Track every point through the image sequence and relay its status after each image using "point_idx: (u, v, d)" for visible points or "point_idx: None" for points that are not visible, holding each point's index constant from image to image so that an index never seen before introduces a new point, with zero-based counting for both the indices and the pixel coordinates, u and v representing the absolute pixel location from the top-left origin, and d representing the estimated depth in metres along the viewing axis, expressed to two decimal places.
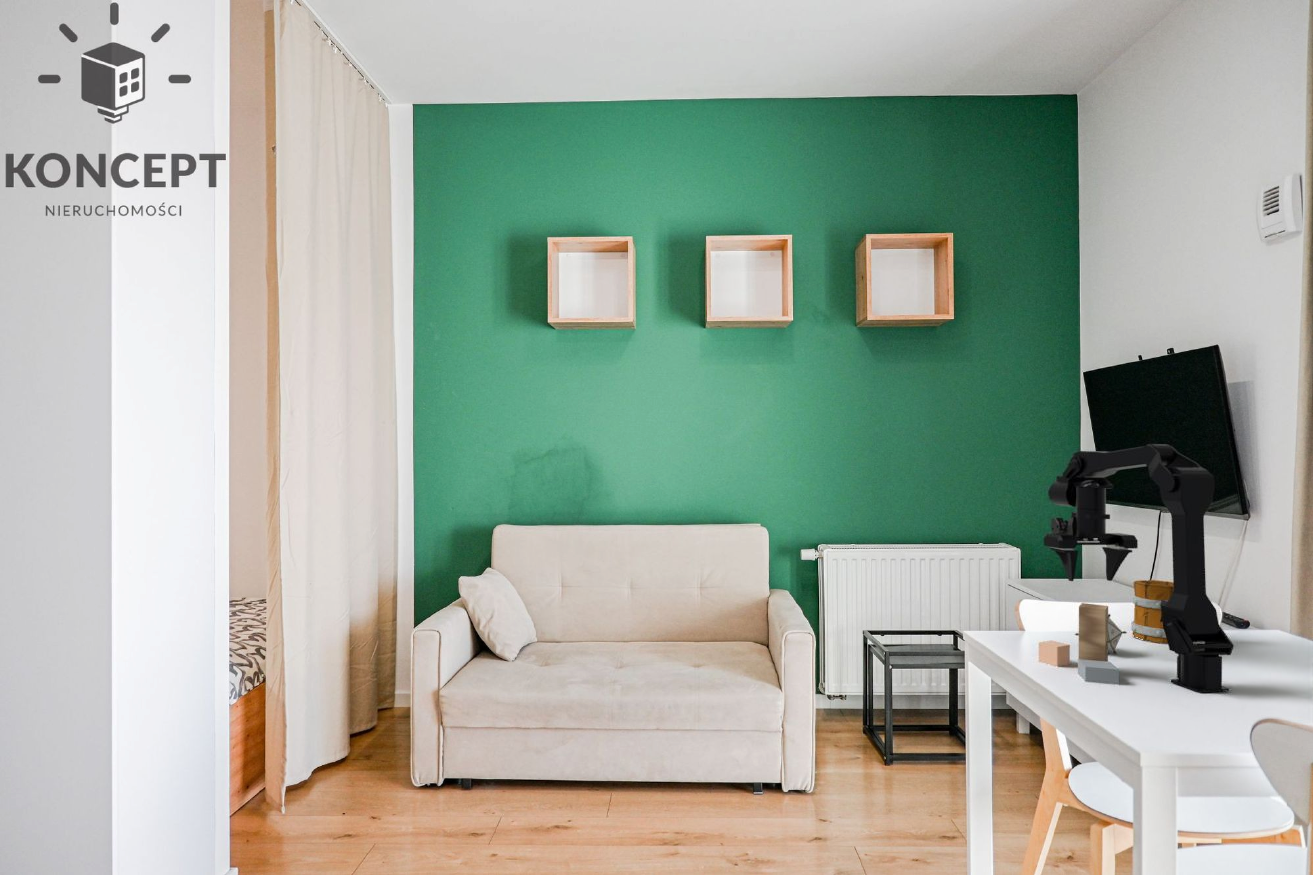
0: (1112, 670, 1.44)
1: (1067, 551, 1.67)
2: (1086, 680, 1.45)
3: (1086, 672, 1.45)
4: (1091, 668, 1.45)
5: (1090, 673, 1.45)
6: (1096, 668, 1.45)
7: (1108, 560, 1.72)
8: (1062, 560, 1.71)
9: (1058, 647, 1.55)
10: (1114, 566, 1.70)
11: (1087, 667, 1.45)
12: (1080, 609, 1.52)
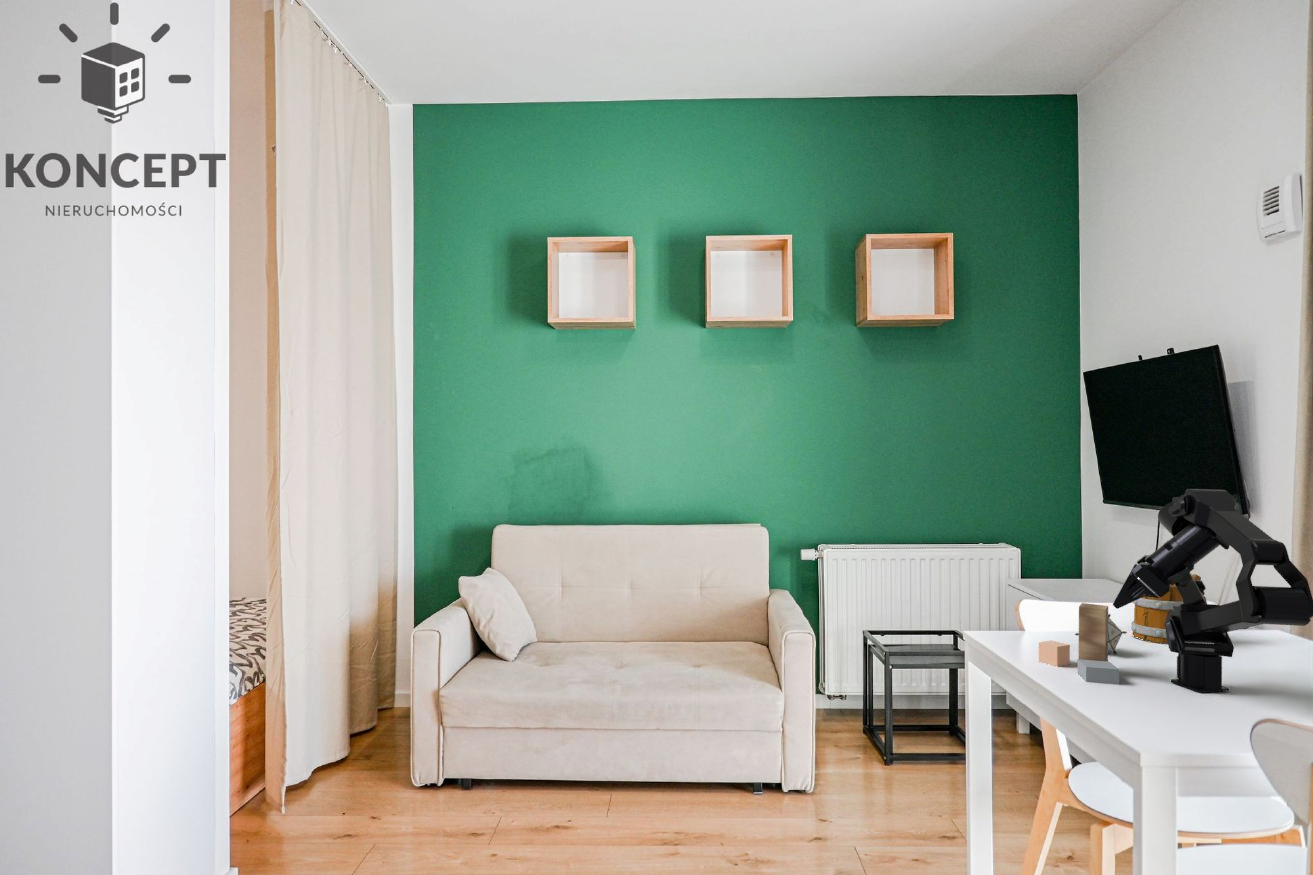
0: (1113, 670, 1.44)
1: None
2: (1087, 680, 1.45)
3: (1087, 672, 1.45)
4: (1092, 668, 1.45)
5: (1091, 673, 1.45)
6: (1097, 668, 1.45)
7: None
8: None
9: (1058, 647, 1.55)
10: None
11: (1088, 667, 1.45)
12: (1080, 609, 1.52)
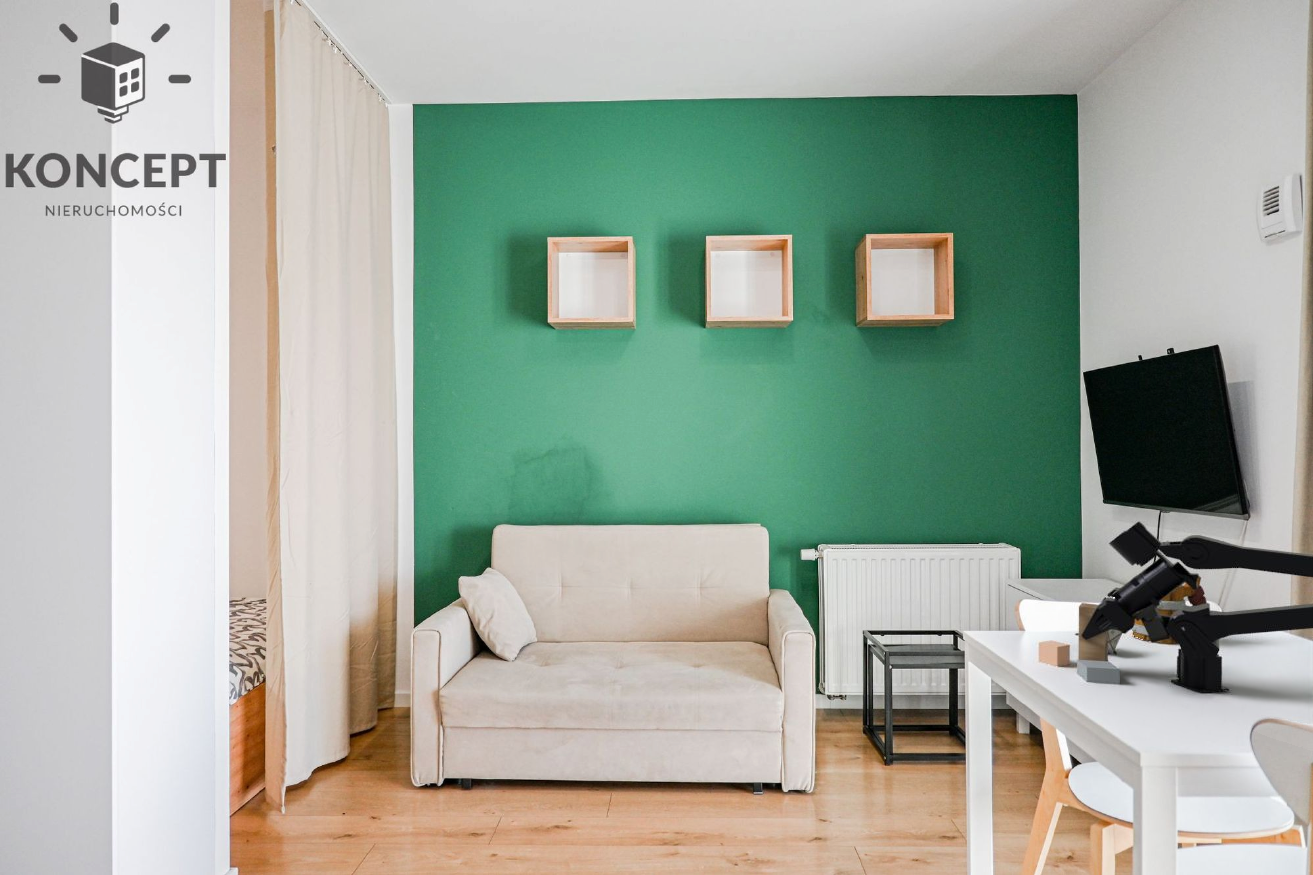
0: (1113, 670, 1.44)
1: None
2: (1088, 681, 1.45)
3: (1087, 673, 1.45)
4: (1092, 668, 1.45)
5: (1091, 673, 1.45)
6: (1097, 668, 1.45)
7: None
8: None
9: (1058, 647, 1.55)
10: None
11: (1088, 668, 1.45)
12: (1080, 609, 1.52)
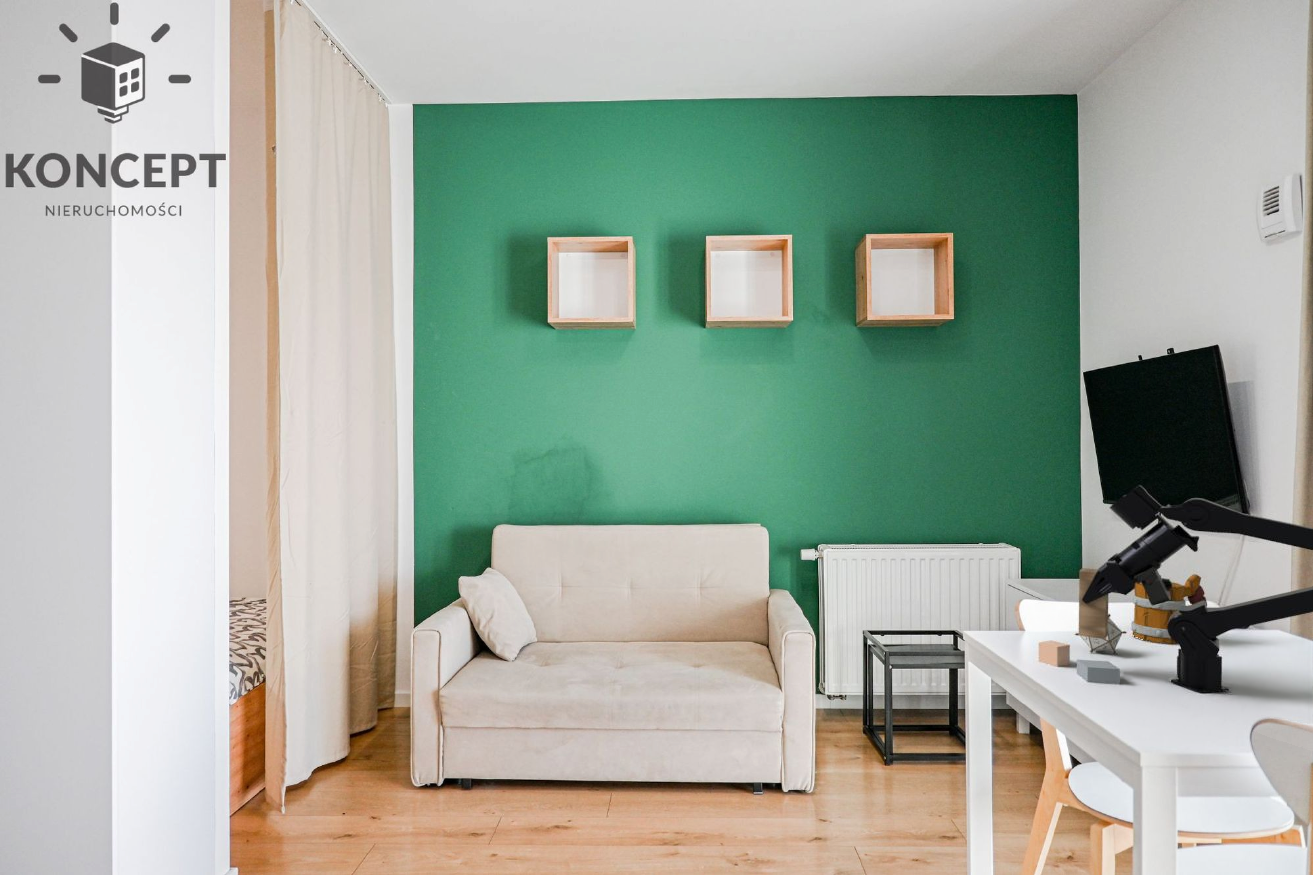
0: (1114, 670, 1.44)
1: None
2: (1088, 681, 1.45)
3: (1088, 672, 1.45)
4: (1093, 668, 1.45)
5: (1092, 673, 1.45)
6: (1098, 668, 1.45)
7: None
8: None
9: (1058, 647, 1.55)
10: None
11: (1089, 667, 1.45)
12: (1081, 573, 1.52)
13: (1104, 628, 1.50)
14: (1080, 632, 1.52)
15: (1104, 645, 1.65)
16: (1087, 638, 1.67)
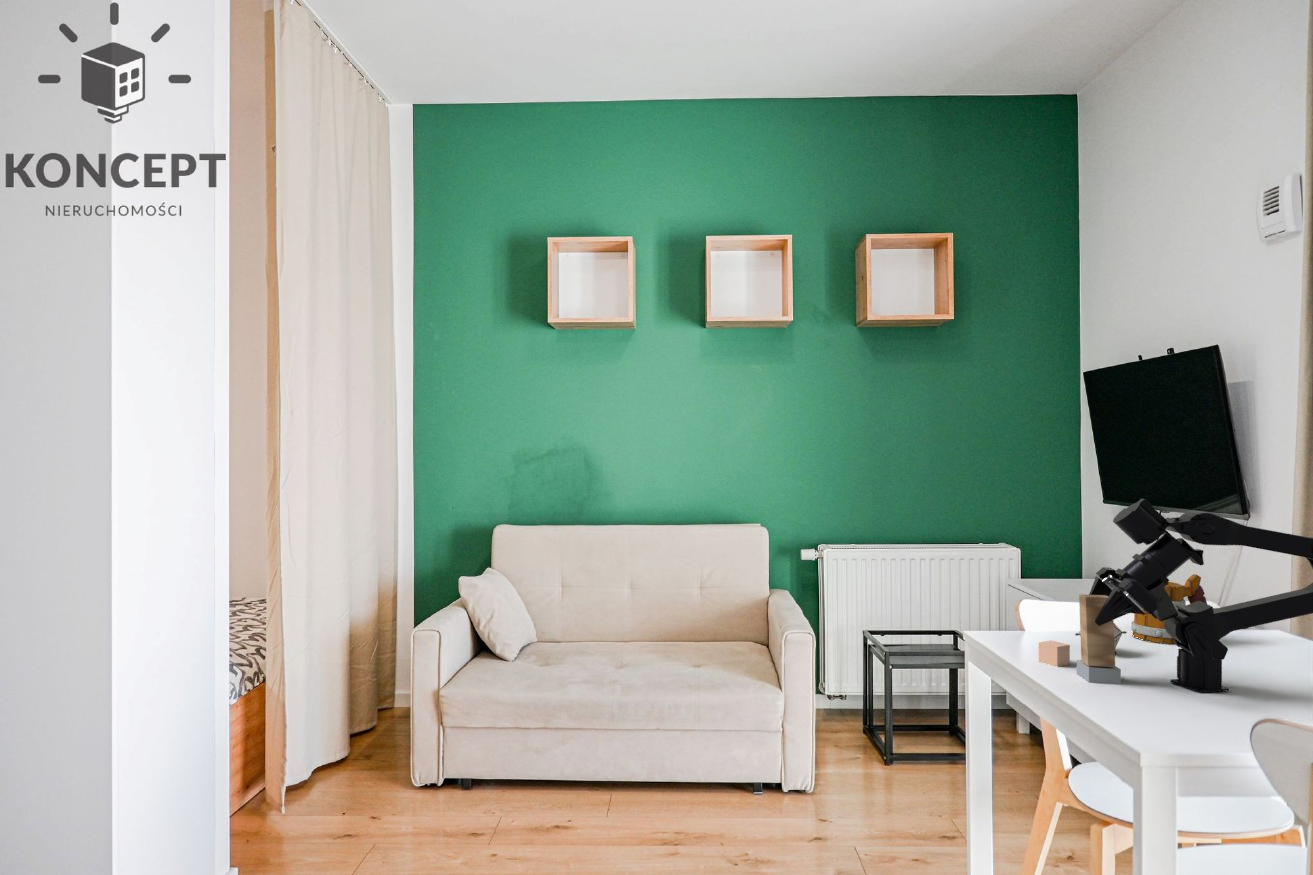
0: (1114, 670, 1.44)
1: (1095, 577, 1.54)
2: (1089, 681, 1.45)
3: (1089, 673, 1.45)
4: (1094, 669, 1.45)
5: (1093, 674, 1.45)
6: (1099, 669, 1.44)
7: None
8: None
9: (1058, 647, 1.55)
10: None
11: (1090, 668, 1.45)
12: (1087, 600, 1.46)
13: (1113, 655, 1.44)
14: (1089, 662, 1.45)
15: None
16: None
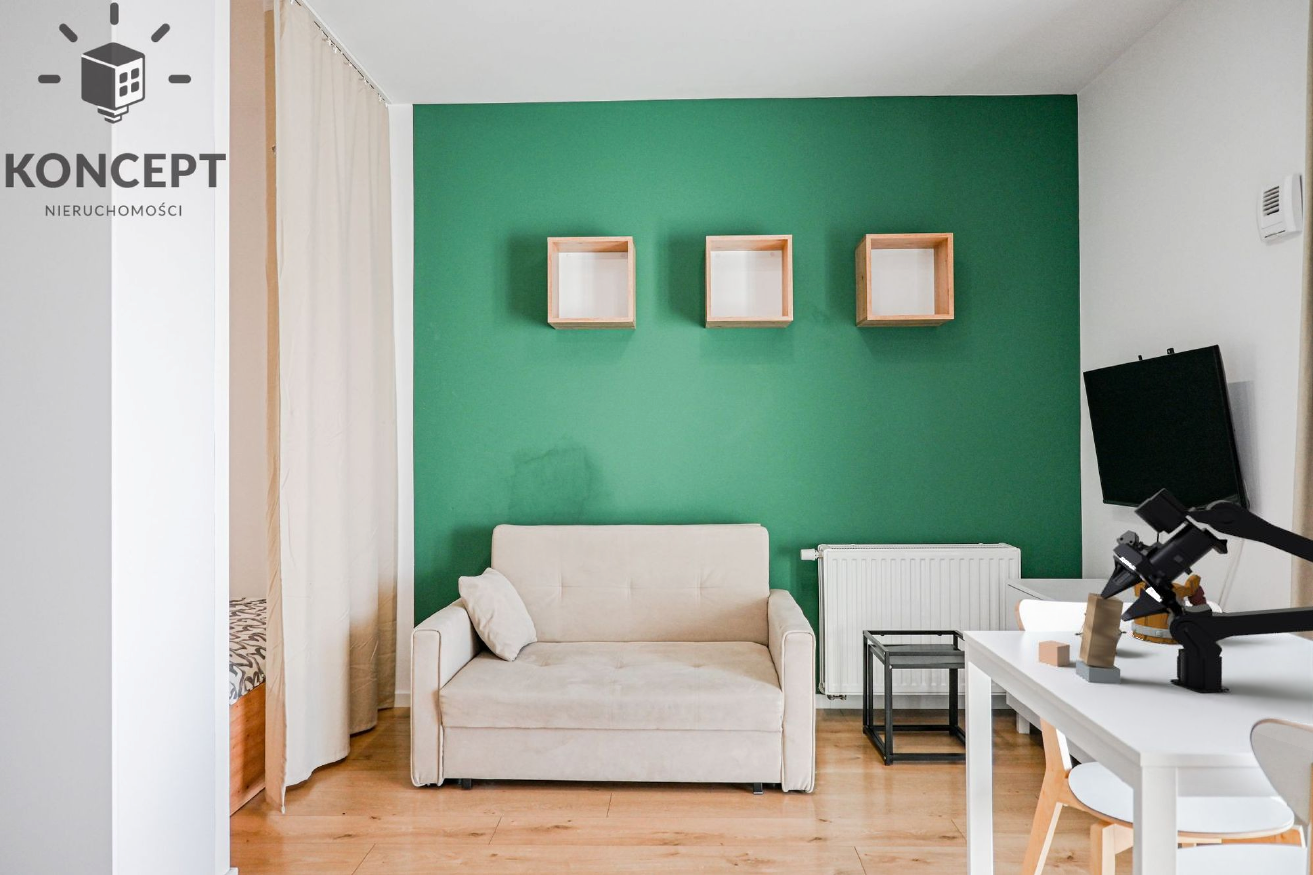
0: (1114, 670, 1.44)
1: (1137, 574, 1.40)
2: (1090, 681, 1.45)
3: (1089, 673, 1.45)
4: (1094, 669, 1.45)
5: (1093, 674, 1.45)
6: (1099, 669, 1.45)
7: (1138, 603, 1.49)
8: (1114, 575, 1.44)
9: (1058, 647, 1.55)
10: (1142, 613, 1.47)
11: (1090, 668, 1.45)
12: (1097, 601, 1.45)
13: (1113, 658, 1.44)
14: (1089, 661, 1.45)
15: None
16: None
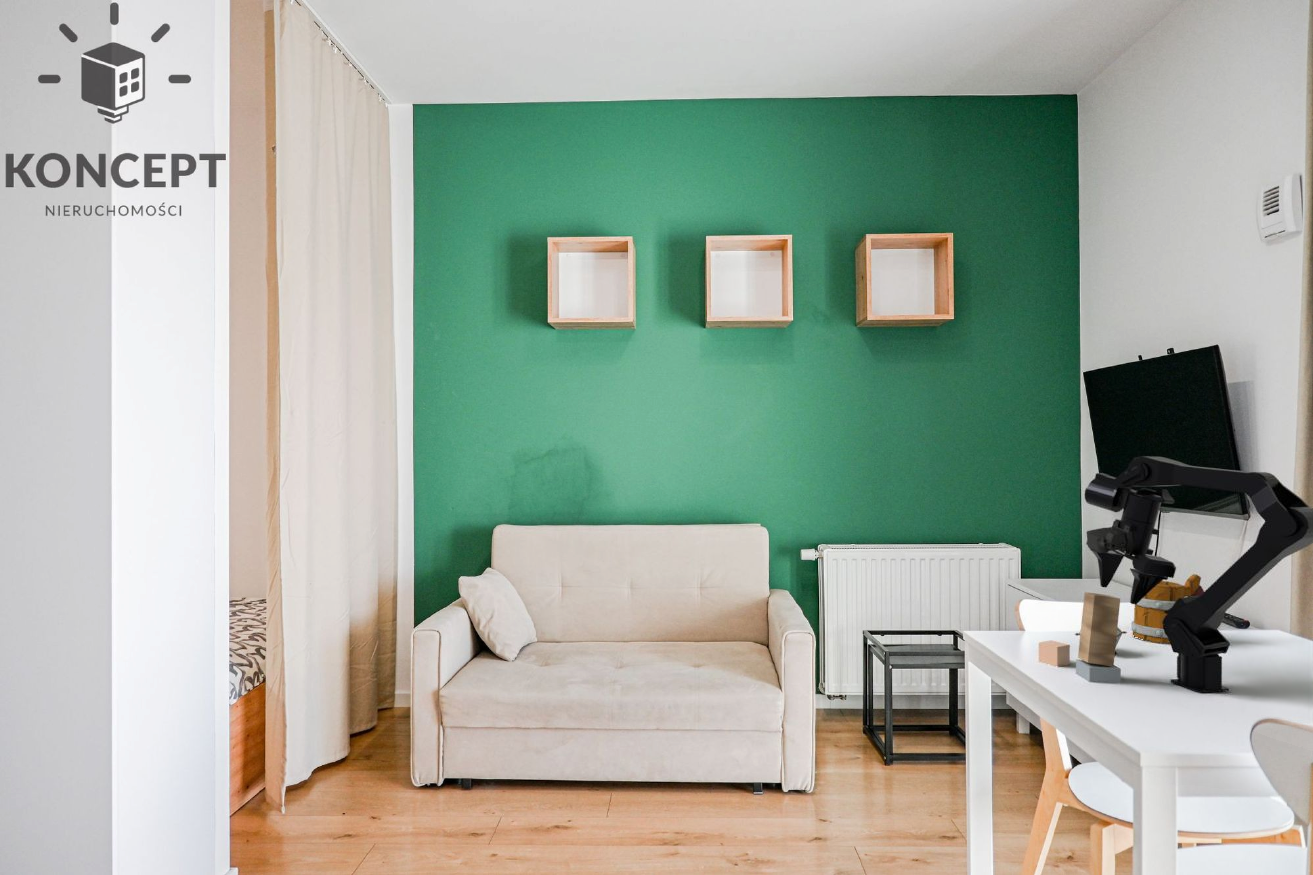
0: (1115, 670, 1.45)
1: None
2: (1090, 681, 1.45)
3: (1090, 673, 1.45)
4: (1095, 668, 1.45)
5: (1094, 674, 1.45)
6: (1099, 668, 1.45)
7: (1105, 566, 1.59)
8: (1139, 584, 1.49)
9: (1058, 647, 1.55)
10: (1114, 572, 1.60)
11: (1091, 668, 1.45)
12: (1095, 598, 1.46)
13: (1113, 655, 1.45)
14: (1090, 659, 1.46)
15: None
16: None
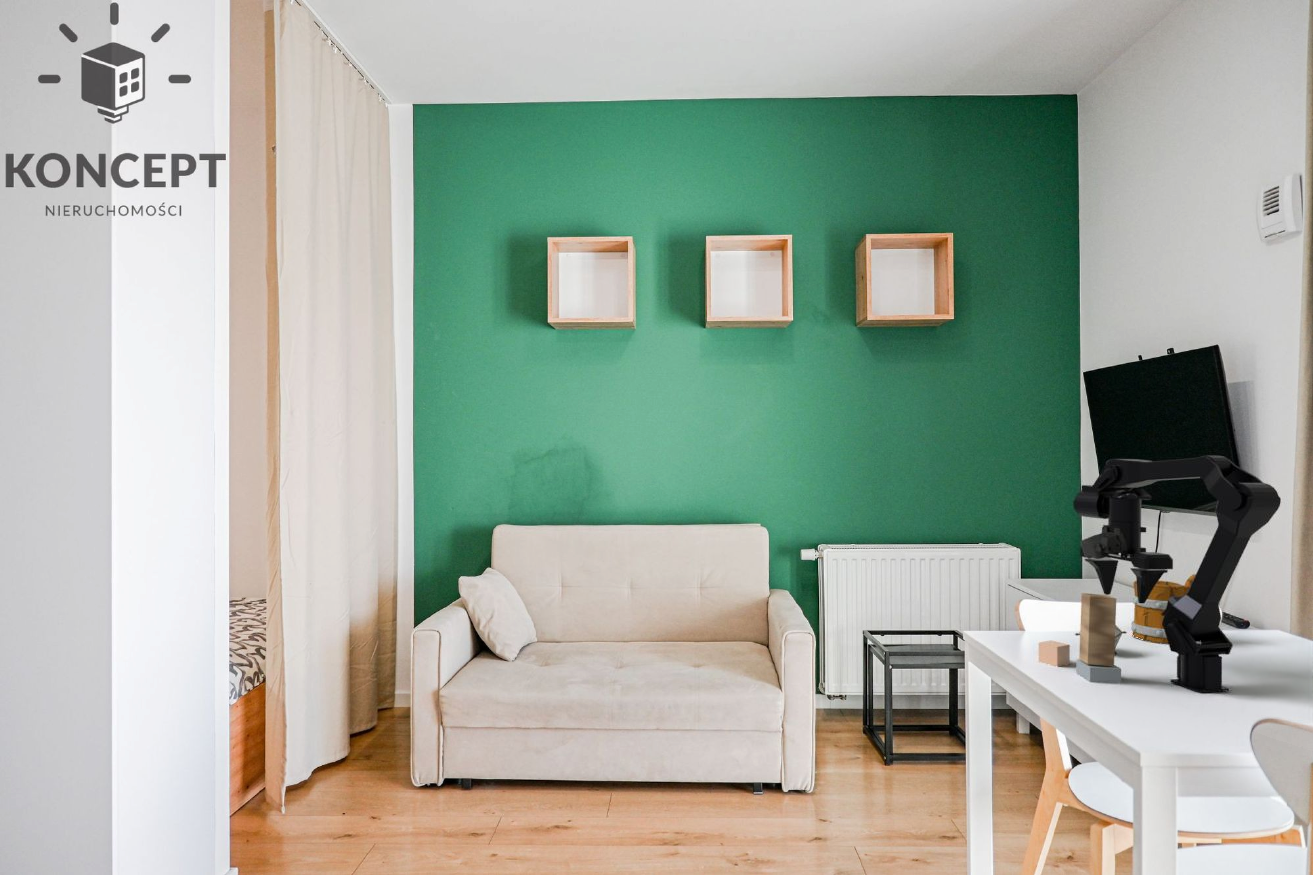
0: (1115, 670, 1.45)
1: None
2: (1091, 681, 1.45)
3: (1091, 673, 1.45)
4: (1095, 669, 1.45)
5: (1094, 674, 1.45)
6: (1100, 668, 1.45)
7: (1104, 573, 1.63)
8: (1143, 582, 1.52)
9: (1058, 647, 1.55)
10: (1113, 578, 1.63)
11: (1091, 668, 1.45)
12: (1091, 599, 1.46)
13: (1113, 655, 1.45)
14: (1089, 660, 1.46)
15: None
16: None
